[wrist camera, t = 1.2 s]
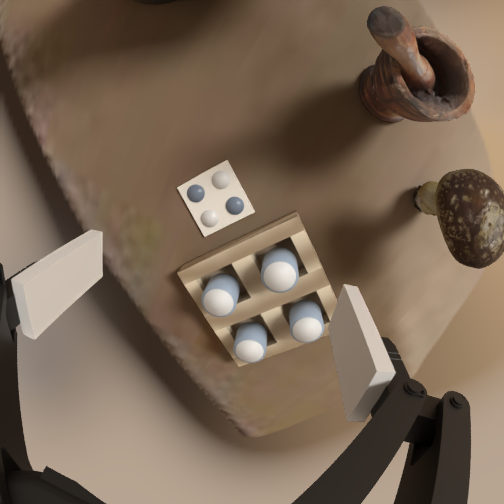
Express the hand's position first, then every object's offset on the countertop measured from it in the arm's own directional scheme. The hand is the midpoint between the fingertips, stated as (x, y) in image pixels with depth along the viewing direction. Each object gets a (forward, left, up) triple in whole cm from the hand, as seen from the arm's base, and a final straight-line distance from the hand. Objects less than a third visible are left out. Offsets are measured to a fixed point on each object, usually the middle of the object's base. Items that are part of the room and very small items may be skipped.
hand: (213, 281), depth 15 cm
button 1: (+8, -7, -19) cm, 22 cm away
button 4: (+15, 0, -19) cm, 25 cm away
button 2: (+8, 0, -19) cm, 21 cm away
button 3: (+15, -7, -19) cm, 26 cm away
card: (-2, -4, -22) cm, 22 cm away
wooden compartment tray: (+11, -4, -22) cm, 25 cm away
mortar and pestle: (-6, +19, -22) cm, 30 cm away
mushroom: (+8, +20, -22) cm, 31 cm away
